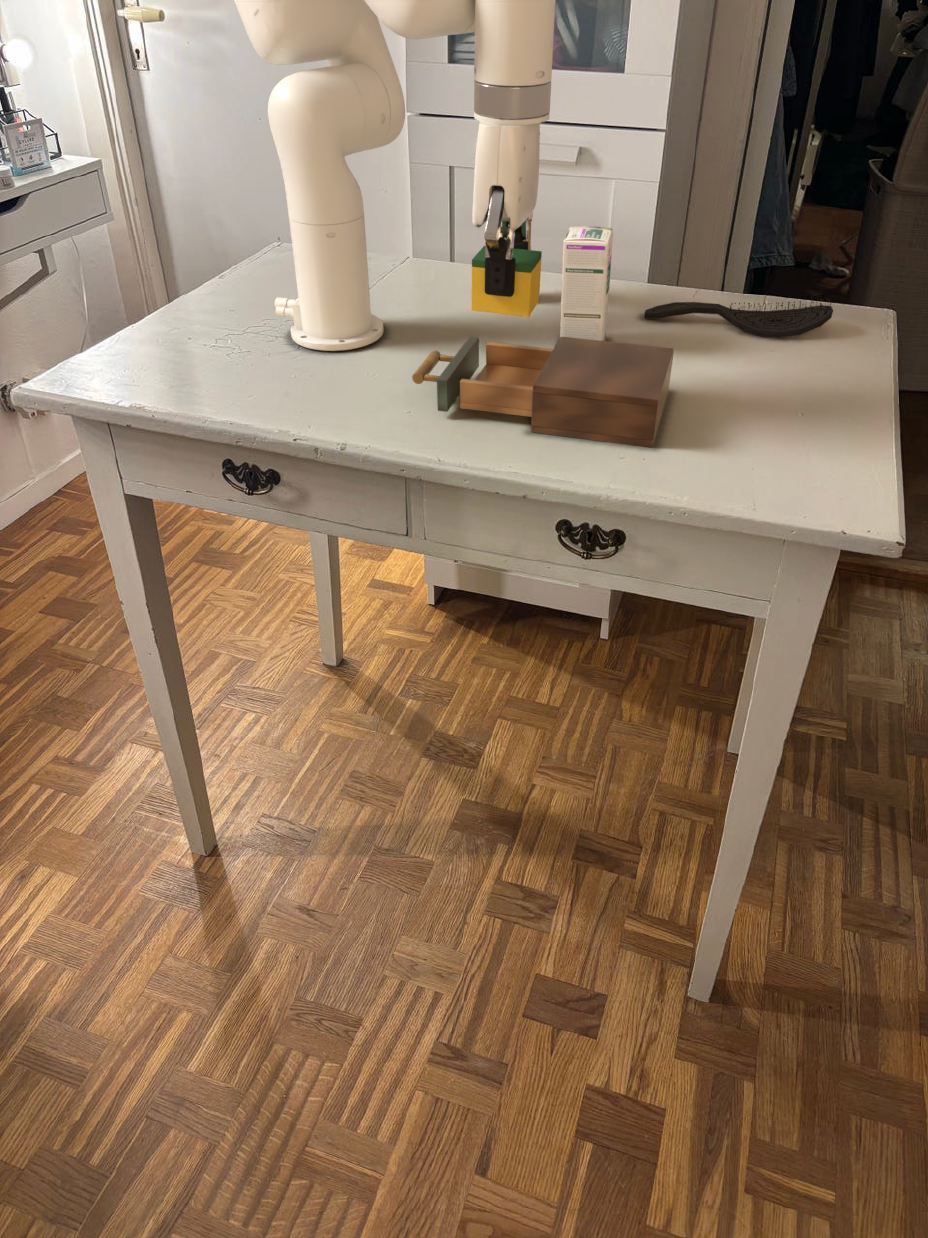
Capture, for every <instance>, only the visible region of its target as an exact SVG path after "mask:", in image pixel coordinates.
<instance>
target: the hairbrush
mask: <svg viewBox="0 0 928 1238" xmlns="http://www.w3.org/2000/svg"><path fill="white" fill-rule="evenodd" d="M816 300H817V301H816V302H818V300H819V298H817V299H816ZM825 300H826V301H825V302H829V304H826V305H823V304H822V302H823V301H824V299H823V298H821V302H820V303H819V305H818V304H817V305H813V304H814V303H815V301H813V298H811V301H810V304H809V306H807V304H805V303H801V302H802V301H801V300H799V307H798V306H795V305H796V304H795V303H796V302H795V301H793V303H792V304H791V301H788V302H787V306H785V307H784V302H783V301H782V302H781V305H780V302H776V303H775V306H776V307H774V309H772V304H770V308H767V305H769V302H768V303H766V302H765V303H764V308H763V310H761V309H762V305H761V303H757V305H759V306H758V307H759V309H757V308H756V302H754V303H753V308H756V309H755V310H751V309H746V305H745V304H746V302H745V301H744V302H743V304H744V305H743V306H740V307H738V308H737V309H736V308H733V304H734V305H736V303H737V302H734V303H733V302H731V303H730V304H729V307H728V306H725V305H722V304H720V303H713V302H712V303H711V302H697V301H674V302H669V303H664V304H660V305H655V306H653V307H650V308H648V309H645V310H644V316H643V317H644V319H647V320H648V319H649V320H658V319H663V318H669V317H675V316H684V315H690V314H691V315H692V314H705V315H718V316H719V317H721V318H722V319H724V320H725V321H726V322H728V323H729V324H730V325H733V326H734V327H735V328H738V329H739V330H741V331H742V332H744V333H748V334H751V335H754V336H758V337H761V338H776V339H781V338H788V337H796V336H801V335H803V334H806V333H809V332H811V331H813V330H815V329H816V330H817V329H819V328H821V327H822V326H823V325H824V324H826V323H827V322H828V321H829V320H831V319H832V317H833V313H834V308H833V307H832V301H831V300H830V298H828V297H826V299H825ZM790 304H791V306H792V307H793V308H790ZM738 305H741V302H738ZM747 305H748V308H751V307H752V304H751V302H748V303H747ZM779 305H780V306H779ZM804 305H805V306H804ZM802 306H804V307H802ZM778 307H781V309H778ZM797 307H798V308H797ZM766 309H767V310H766ZM768 309H770V310H768Z"/></svg>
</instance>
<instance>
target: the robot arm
mask: <svg viewBox="0 0 928 1238" xmlns="http://www.w3.org/2000/svg"><path fill="white" fill-rule="evenodd" d="M233 1H234V5H235V7H236V10H237V11H238V15H239V17H240V19H241V22H242V25H243V27H244V30H245V32H246V34H247V37H248V39H249V41H250V43H251V46H252V47H253V49H254V50H255V53H256V54H257V55H258V56H259V58H260V59H262V60H263V61H264V62H266V63H268V64H269V65H275V66H290V65H300V64H306V63H315V62H321V61H326V60H328V62H329V64H330V65H329V66H324V67H317V68H311V69H306V70H300V71H297V72H293V73H291V74H288V75H287V76H285V77H284V78H282V79H281V80H279V82H277V84H275V86H274V87H273V88H272V90H271V93H270V95H269V98H268V101H267V119H268V124H269V129H270V133H271V136H272V139H273V143H274V145H275V149H276V153H277V156H278V160H279V164H280V168H281V172H282V178H283V183H284V190H285V198H286V205H287V215H288V222H289V227H290V228H289V230H290V239H291V245H292V246H291V247H292V255H293V264H294V272H295V281H296V282H295V283H296V288H297V297H296V299H293V298H289V297H282V296H277V297H276V298H275V299H274V304H273V305H274V309H275V310H274V311H275V316H276V317H278V318H291V320H292V321H293V323H292V325H291V327H290V337H291V339H292V340H293V342H295V344H297V345H299V346H301V347H304V348H307V349H310V350H314V351H323V352H324V351H325V352H339V351H350V350H355V349H359V348H363V347H366V346H369V345H372V344H374V343H375V342H377V341H378V340H379V339H380V338H382V336H383V335H384V323H383V320H382V319H381V318H379V317H377V316H376V315H374V314H372V306H371V294H370V278H369V266H368V250H367V237H366V221H365V210H364V198H363V194H362V193H363V192H362V189H361V186H360V185H359V183H358V180H357V179H356V177H355V175H354V173H353V172H352V171H351V169H350V167H349V165H348V164H347V161H346V156H349V155H352V154H356V153H361V152H366V151H370V150H374V149H377V148H381V147H384V146H387V145H389V144H391V143H393V142H394V141H395V140H396V139H397V138H398V137H400V134H401V133H402V130H403V128H404V124H405V122H406V121H405V119H406V102H405V96H404V93H403V89H402V84H401V82H400V78H399V76H398V72H397V70H396V67H395V64H394V60H393V58H392V56H391V52H390V50H389V47H388V44H387V42H386V38H385V36H384V33H383V30H382V26H381V24H380V22H381V23H382V24H383V25H384V26H385V27H386V28H387V29H389V30H390V31H391V32H393V33H394V34H396V35H398V36H400V37H402V38H405V39H408V40H414V41H415V40H426V39H432V38H438V37H439V38H440V37H445V36H452V35H453V36H454V35H466V34H472V33H474V66H473V67H474V69H473V70H474V72H473V77H474V78H473V79H474V81H473V90H474V91H473V119H474V120H476V121H477V122H479V125H478V130H477V139H476V145H475V146H476V147H475V158H474V159H475V160H474V172H473V173H474V175H473V190H472V191H473V195H472V211H471V212H472V213H471V214H472V217H471V223H472V225H473V226H474V227H475V228H477V229H480V228H481V227H482V226H483V225H484V224H485V228H484V241H485V246H486V249H485V293H486V294H488V295H496V296H506V297H512V296H513V294H514V289H515V263H516V258H512V257H513V248H514V249H524V250H528V242H527V240H528V235H529V222H528V218H529V215H530V214H531V213H532V212H533V213H534V211H535V208H536V205H537V199H538V193H539V192H538V191H539V177H540V175H539V174H540V149H541V148H540V144H541V142H540V141H541V137H540V136H541V124H542V123H545V122H547V121H549V120H550V111H551V94H552V75H553V56H554V37H555V21H556V4H557V3H556V1H557V0H233ZM379 21H380V22H379ZM509 221H510V222H509ZM501 233H502V237H501ZM504 238H505V239H504ZM523 240H526V241H523Z"/></svg>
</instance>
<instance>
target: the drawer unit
mask: <svg viewBox="0 0 928 1238" xmlns="http://www.w3.org/2000/svg"><path fill="white" fill-rule="evenodd" d="M552 349H553V351H552V353H551V354H550V356H549V358H548V360H547V362H546V363H545V365H544V367H543V369H542V370H541V372H540V374H539V376H538V378H537V379H536V381H535V383H534V385H533V395H532V417H531V422H530V423H531V425H530V432H531V433H536V434H542V435H543V434H544V435H551V436H560V437H565V438H566V437H567V438H575V439H583V440H591V441H599V442H608V443H615V444H623V445H629V446H630V445H631V446H638V447H639V446H640V447H648V448H653V446H654V443H655V439H656V436H657V433H658V430H659V425H660V423H661V419H662V417H663V416H662V415H663V413H664V409H665V406H666V402H667V398H668V396H669V395H668V394H669V390H670V384H671V382H670V381H671V375H672V368H673V361H674V353H675V347H667V346H657V345H647V344H638V343H628V342H627V343H626V342H619V341H607V340H605V341H599V340H589V339H579V338H569V337H560V336H559V338H558V340H557V342H556V344H555V345H554V348H552Z"/></svg>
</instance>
